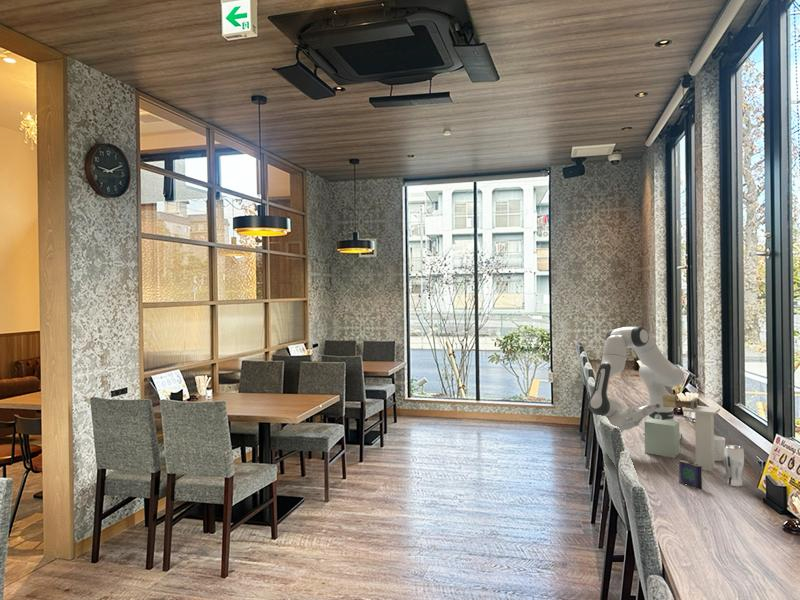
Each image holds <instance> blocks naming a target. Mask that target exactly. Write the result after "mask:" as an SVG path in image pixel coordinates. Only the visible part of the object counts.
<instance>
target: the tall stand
mask: <svg viewBox="0 0 800 600" xmlns="http://www.w3.org/2000/svg"><path fill="white" fill-rule="evenodd" d="M698 398H699V397H694V398H692V399H691V400H690V401H691V407H683V412H685V413H687V412H688V413H694V414H695V415H694V418H695V419H694V420H695V421H694V422H695V423H694V425H695V427H694V429H695V464H696V463H697V464H698V465H701V470H702V471H707V470H709V472H712V471H713V470H714V469H715V461H714V436H715V424H714V423H715V419H714V416H715V415H717V414H718V413H719V412H720V411H721V407H716V406H715V407H714V406H706V405H704V406H703V405H697V407H696V408H694V402H695V401H697V402H698V401H699V400H698Z"/></svg>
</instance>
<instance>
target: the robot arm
mask: <svg viewBox="0 0 800 600" xmlns="http://www.w3.org/2000/svg"><path fill="white" fill-rule="evenodd" d="M627 349H633V351H634V352H635V354H636V356H637V358H638V359H639V361H640V363H642V364H641V365H640V367H639V369H638V376H639V377H638V378H639V379H640V380H642V382H643V383H644V385H645V386H646V389H647V392H648V398H649V404H646V405H643V406H641V407H638V408H636V407H634V408H630V407H629V408H626V409H623V408H622V406H621V404H620V402H619V401H617V400H616V399H614V398H611V397H609V396H608V390H609V385H610V380H611V378H612V377H613V376H614V375H618V374H620V373H622V372H623V371H624V369H625V368H626V367H625V366H626V361H627ZM660 350H661V349H659V347H658V345H657V344H656V342H655V340H654V338H653V337H652V336H651V334H650V333H649V332H648V330H647V329H646V328H645V327H643V326H639V325H637V326H623V327H618V328H612V329H610V330H608V331H607V332H606V335H605V342H604V346H603V350H602V358H601V361H600V362H601V363H600V365H599V367H598V370H597V372H596V377H595V381H594V386H593V390H592V394H591V396H590V397H589V399H588V408H589V411H590V412H591V413H592V414H593V415H595V416H600V415H601V416H606V417H607V418H608V420H609V421H610V423H611V424H612V425H614V426H617V427H619V428H620V430H621V433H620V434H622V433H623V432H624V431H628V430H631V429H633V428H636V427H639V425H640V423H641V422H642V421H643V419H644V418H646V417H647V418H646V420H645V421H647V420H648V419H650V418H652V419H660V420H667V421H675V422H676V420H675V413H674V412H675V411H674V410H673V408H674V407H663V398H662V396H663V395H665V394H670V393H669V391H668V390H667V388H666V387H679V386H681V385H682V384H683V382H684V381H685V373H684V370H682V369H681V368H680V367H678V366H676V365H675V364H674V363H672V362H671V361H670V360H669V359H668V358H666V357H665V355H664V354H663V353H662V352H661V351H660ZM622 409H623V410H622ZM648 416H649V417H648ZM596 425H597V429H598V431H600V433H601V426H600V420H598V423H597V424H596ZM642 435H645V430H644V431H642ZM681 439H682V432H681V431H680V430H679V440H681Z"/></svg>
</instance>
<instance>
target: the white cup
mask: <svg viewBox="0 0 800 600" xmlns="http://www.w3.org/2000/svg"><path fill="white" fill-rule="evenodd" d="M724 445H726V438H725V437H723V436H719V435H714V462H724V458H723V453H724Z"/></svg>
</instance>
